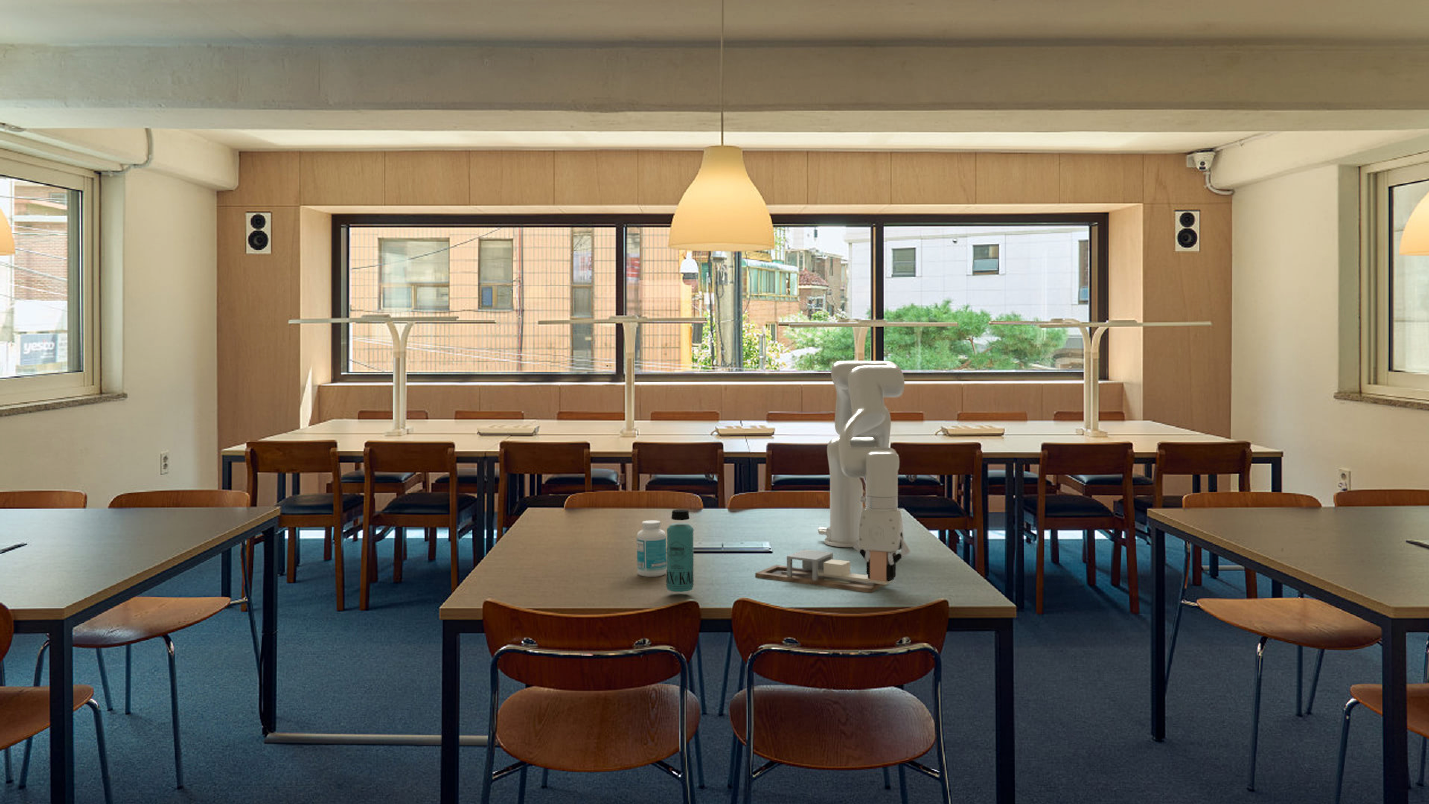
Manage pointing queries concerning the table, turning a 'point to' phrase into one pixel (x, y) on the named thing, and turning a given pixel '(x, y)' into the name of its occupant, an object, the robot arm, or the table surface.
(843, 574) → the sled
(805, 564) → the bridge tunnel
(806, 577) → the rail board
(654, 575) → the pill bottle
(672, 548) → the beverage bottle
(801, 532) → the table surface
